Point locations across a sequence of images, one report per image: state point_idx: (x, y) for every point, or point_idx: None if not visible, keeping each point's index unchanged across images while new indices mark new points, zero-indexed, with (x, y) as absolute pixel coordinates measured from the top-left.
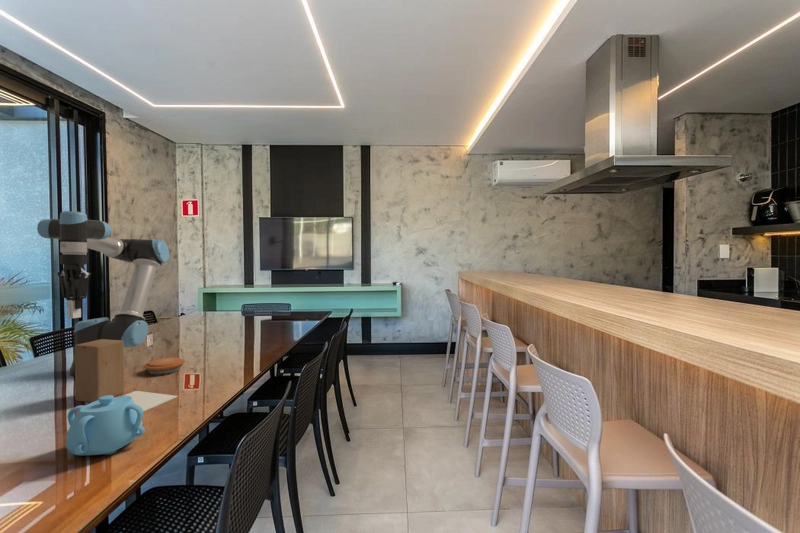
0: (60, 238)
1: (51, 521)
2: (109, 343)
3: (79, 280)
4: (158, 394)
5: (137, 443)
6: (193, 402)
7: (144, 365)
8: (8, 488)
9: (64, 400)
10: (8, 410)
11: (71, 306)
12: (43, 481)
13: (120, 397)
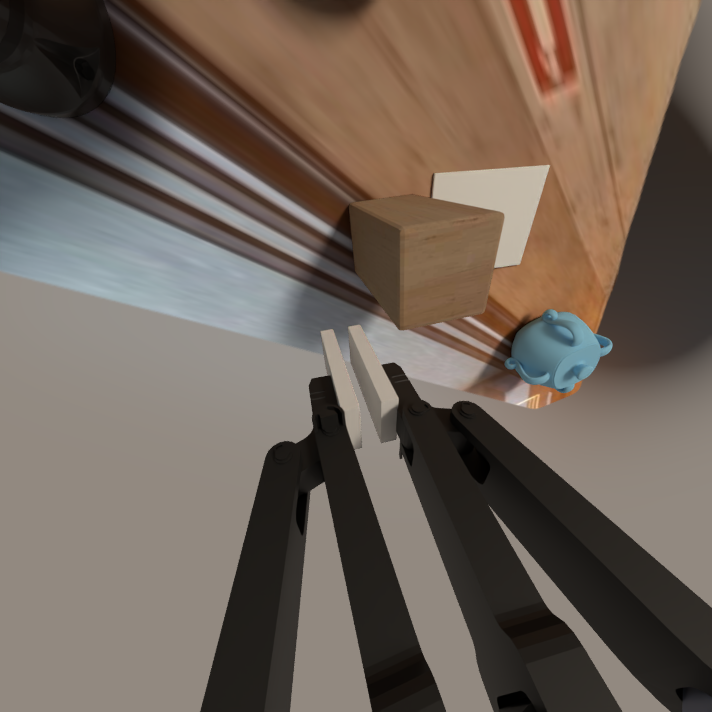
0: None
1: (558, 397)
2: (491, 272)
3: (605, 636)
4: (504, 174)
5: None
6: (591, 180)
7: None
8: (501, 400)
9: (330, 279)
10: (292, 344)
11: (369, 409)
12: (519, 386)
13: (583, 348)
